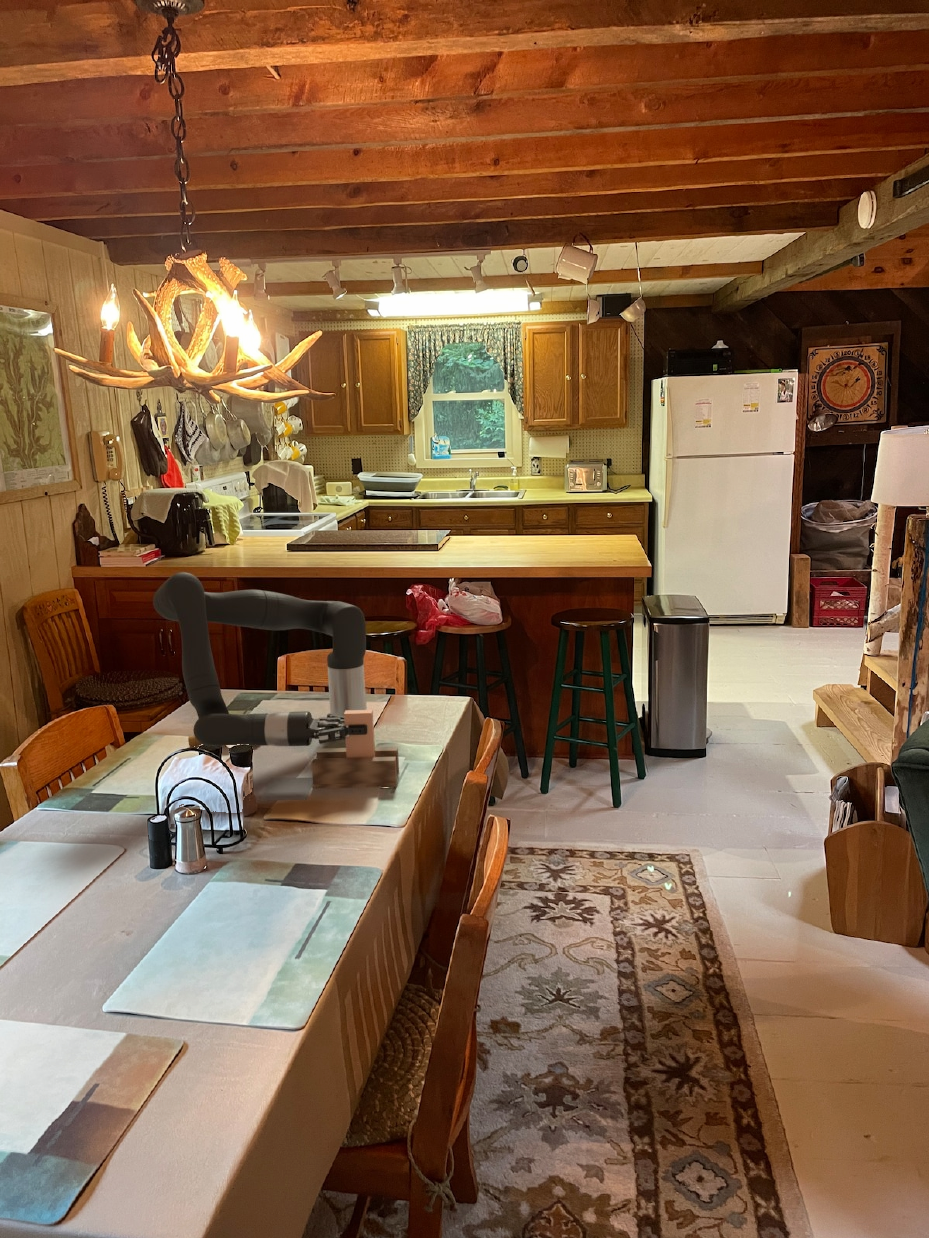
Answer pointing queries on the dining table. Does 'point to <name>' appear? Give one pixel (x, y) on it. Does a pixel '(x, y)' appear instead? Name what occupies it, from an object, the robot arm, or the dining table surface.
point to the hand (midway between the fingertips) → (367, 727)
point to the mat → (288, 789)
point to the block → (360, 743)
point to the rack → (355, 769)
